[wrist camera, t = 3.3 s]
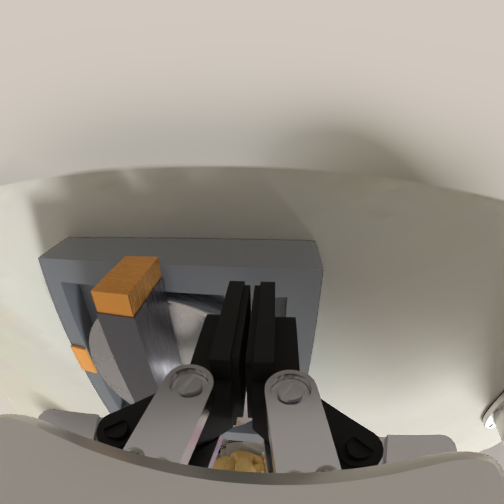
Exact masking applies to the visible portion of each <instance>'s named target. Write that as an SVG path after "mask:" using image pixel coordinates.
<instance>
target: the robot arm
mask: <svg viewBox="0 0 504 504" xmlns="http://www.w3.org/2000/svg"><path fill="white" fill-rule="evenodd" d="M246 392H247V412H248V418H252V429H253V430H254V431H255V432H256V433H257V434H258V435H260V436H261V437H262V438H263V447H264V455H265V463H266V471H267V473H260V472H243V471H231V470H221V469H212V468H213V465H214V462H215V460H216V457H217V454H218V451H219V449H220V446H221V443H222V440H223V436H224V433H225V432H227V431H228V430H230V429H232V428H233V425H236V424H237V417H241V418H243V415H244V406H245V398H246ZM483 424H484V427H485V428H487V429H489V428H494V427H496V428H497V430H498V432H499V435H500V437H501V440H502V442H503V444H504V392H503V394H502V395H501V396H500V397H499V398H498V399H497V400H496V401H495V402H494V403H493V404H492V406H491V407H490V408H489V409H488V411H487V412H486V414H485V416H484V418H483ZM0 504H504V470H503V469H502V467H501V465H500V464H499V463H498V462H497V461H496V460H495V459H494V458H493V457H490V456H489V455H485V454H481V453H477V452H467V451H462V452H457V449H456V446H455V443H454V442H453V441H452V439H451V438H449V437H447V436H445V435H387V437H378V436H377V435H375V434H374V433H373V432H371V431H370V430H368V429H366V428H365V427H363V426H362V425H360V424H358V423H357V422H355V421H354V420H352V419H351V418H349V417H347V416H346V415H344V414H343V413H341V412H340V411H338V410H337V409H335V408H334V407H332V406H331V405H329V404H328V403H326V402H325V401H323V400H322V399H321V398H320V395H319V392H318V388H317V385H316V383H315V381H314V380H313V379H312V378H311V377H310V376H309V375H308V374H306V373H304V372H302V371H300V366H299V352H298V338H297V325H296V317H275V282H261V283H260V285H255V287H254V295H253V303H252V311H251V288H250V285H245V281H229V285H228V288H227V292H226V295H225V299H224V303H223V306H222V310H221V314H220V315H214V314H207V315H206V317H205V320H204V323H203V326H202V329H201V332H200V335H199V338H198V341H197V344H196V347H195V350H194V354H193V357H192V360H191V363H190V364H187V365H181V366H179V367H176V368H174V369H173V370H171V371H170V372H169V373H168V374H167V376H166V377H165V379H164V380H163V382H162V384H161V385H160V387H159V389H158V390H157V392H156V393H155V394H153V395H151V396H148V397H146V398H144V399H142V400H140V401H138V402H136V403H133V404H131V405H129V406H127V407H124V408H122V409H120V410H118V411H115V412H113V413H111V414H109V415H107V416H105V417H104V418H100V417H99V415H96V414H86V413H77V412H69V411H62V410H55V409H52V410H47V411H44V412H43V413H42V414H41V415H40V416H39V418H38V419H37V418H34V417H30V416H25V415H17V414H3V415H0Z"/></svg>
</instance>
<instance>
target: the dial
mask: <svg viewBox="0 0 504 504" xmlns="http://www.w3.org/2000/svg"><path fill="white" fill-rule="evenodd" d="M91 294H92V297H93V300H94V303H95V306H96V309H97V313H96V314H97V317H98V318H97V320H96V321H95V322H94V324H93V326H92V328H91V332H90V336H89V346H90V352H91V356H92V359H93V361H94V364H95V366H96V368H97V369H98V371H99V373H100V374H101V376H102V377H103V379H104V380H105V381H106V382H107V384H108V385H109V386H110V387H111V388H112V389H113V390H114V391H115V392H116V393H117V394H118V395H119V396H120V397H122V398H123V399H124V400H125V401H127V402H128V403H130V404H133V403H136V402H138V401H140V400H142V399H144V398H146V397H148V396H151V395H153V394H155V393H156V392H157V390H158V389H159V387H160V385H161V384H162V382H163V380H164V379H165V377H166V376H167V374H168V373H169V372H170V371H171V370H173V369H174V368H176V367H179V366H181V365H187V364H190V363H191V360H192V357H193V354H194V350H195V347H196V344H197V341H198V338H199V335H200V332H201V329H202V326H203V323H204V320H205V317H206V315H207V314H214V315H220V314H221V310H222V306H223V304H221V303H220V302H218V301H216V300H213V299H211V298H209V297H207V296H205V295H202V294H192V293H176V292H166V289H165V284H164V278H163V276H162V275H161V270H160V264H159V258H158V257H150V256H125V257H124V258H123V259H122V260H121V261H120V262H119V263H118V264H117V265H116V266H115V267H114V268H113V269H112V270H111V271H110V272H109V273H108V274H107V275H106V276H105V277H104V278H103V279H102V280H101V281H100V282H99V283H98V284H97V285H96V286H95V287H94V288H93V289H92V290H91ZM250 421H252V418H248V412H247V392H246V398H245V406H244V415H243V418H241V417H237V424H236V425H233V427H237V426H240V425H243V424H245V423H247V422H250Z"/></svg>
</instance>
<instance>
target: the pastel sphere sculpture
mask: <svg viewBox="0 0 504 504" xmlns="http://www.w3.org/2000/svg"><path fill="white" fill-rule="evenodd" d="M212 469H221V470H231V471H243V472H260V473H267V471H266V463H265V455H264V447H263V442H246V441H244V442H232V443H227V444H226V448H224V449H221V450H220V453H218V454H217V457H216V460H215V462H214V465H213V468H212Z"/></svg>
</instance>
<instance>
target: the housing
mask: <svg viewBox="0 0 504 504" xmlns="http://www.w3.org/2000/svg"><path fill="white" fill-rule="evenodd" d="M125 256H150V257H158V258H159V264H160V270H161V275H162V276H163V278H164V284H165V289H166V292H176V293H192V294H202V295H205V296H207V297H209V298H211V299H213V300H216V301H218V302H220V303H221V304H223V303H224V299H225V295H226V292H227V288H228V285H229V281H245V285H250V288H251V311H252V303H253V295H254V287H255V285H260V283H261V282H275V317H296V325H297V338H298V352H299V366H300V371H302V372H304V373H306V374H308V371H309V365H310V360H311V354H312V348H313V342H314V335H315V329H316V322H317V315H318V308H319V300H320V293H321V284H322V276H323V266H322V263H321V259H320V256H319V252H318V249H317V245H316V242H315V241H304V240H262V239H207V238H66V239H64V240H63V241H61V242H60V243H58V244H57V245H56V246H54V247H53V248H51V249H50V250H48V251H47V252H46V253H44V254H43V255H41V256H40V257H39V258H38V259H39V262H40V266H41V269H42V272H43V275H44V278H45V281H46V284H47V287H48V290H49V292H50V295H51V298H52V300H53V303H54V306H55V308H56V311H57V313H58V315H59V318H60V320H61V323H62V325H63V327H64V329H65V332H66V334H67V336H68V338H69V340H70V343H71V348H72V350H73V352H74V354H75V356H76V358H77V360H78V362H79V364H80V366H81V368H82V370H85V372H86V374H87V376H88V378H89V379H90V381H91V383H92V385H93V386H94V388H95V390H96V392H97V393H98V395H99V396H100V398H101V400H102V401H103V403H104V405H105V406H106V408H107V409H108V411H109V412H110V414H111V413H113V412H115V411H118V410H120V409H122V408H124V407H127V406H129V405H131V404H130V403H128V402H127V401H125V400H124V399H123V398H122V397H120V396H119V395H118V394H117V393H116V392H115V391H114V390H113V389H112V388H111V387H110V386H109V385H108V384H107V382H106V381H105V380H104V379H103V377H102V376H101V374H100V373H99V371H98V369H97V368H96V366H95V364H94V361H93V359H92V356H91V352H90V346H89V336H90V332H91V328H92V326H93V324H94V322H95V321H96V320H97V318H98V317H97V314H96V313H97V309H96V306H95V303H94V300H93V297H92V294H91V290H92V289H93V288H94V287H95V286H96V285H97V284H98V283H99V282H100V281H101V280H102V279H103V278H104V277H105V276H106V275H107V274H108V273H109V272H110V271H111V270H112V269H113V268H114V267H115V266H116V265H117V264H118V263H119V262H120V261H121V260H122V259H123V258H124V257H125ZM223 439H224V440H234V441H246V442H263V438H262V437H261V436H260V435H258V434H257V433H256V432H255V431H254V430H253V429H252V421H250V422H247V423H245V424H243V425H240V426H237V427H233V428H232V429H230V430H228V431H227V432H225V433H224V436H223Z"/></svg>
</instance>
